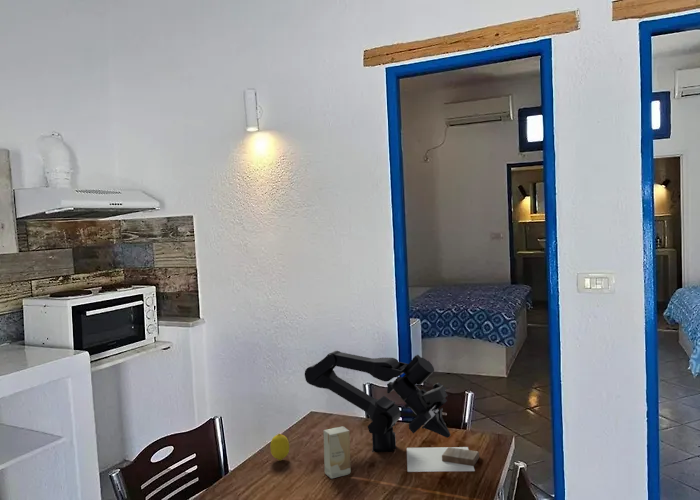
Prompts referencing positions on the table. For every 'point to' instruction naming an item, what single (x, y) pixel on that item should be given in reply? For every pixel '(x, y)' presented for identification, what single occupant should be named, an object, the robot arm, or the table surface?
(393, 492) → the table surface
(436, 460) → the mat
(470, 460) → the tile
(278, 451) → the lemon
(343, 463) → the skincare box
